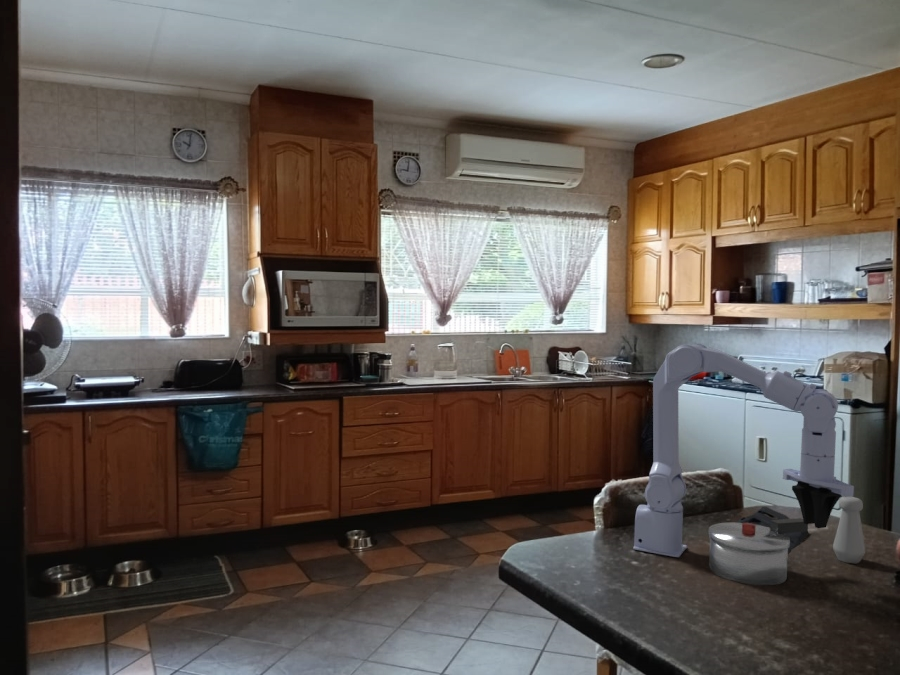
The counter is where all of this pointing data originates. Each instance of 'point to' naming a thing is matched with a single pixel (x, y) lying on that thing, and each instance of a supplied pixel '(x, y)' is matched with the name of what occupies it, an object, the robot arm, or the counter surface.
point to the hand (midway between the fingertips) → (814, 525)
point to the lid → (757, 535)
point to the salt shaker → (849, 531)
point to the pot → (748, 565)
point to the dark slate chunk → (763, 519)
